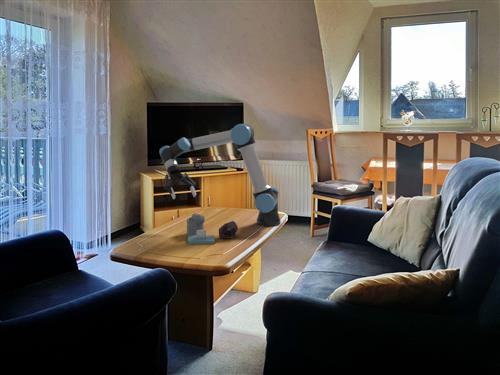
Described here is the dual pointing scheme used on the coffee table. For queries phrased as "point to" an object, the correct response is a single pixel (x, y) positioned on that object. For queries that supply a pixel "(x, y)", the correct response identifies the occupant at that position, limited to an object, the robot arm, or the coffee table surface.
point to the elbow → (195, 224)
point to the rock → (228, 230)
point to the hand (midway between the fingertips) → (185, 196)
